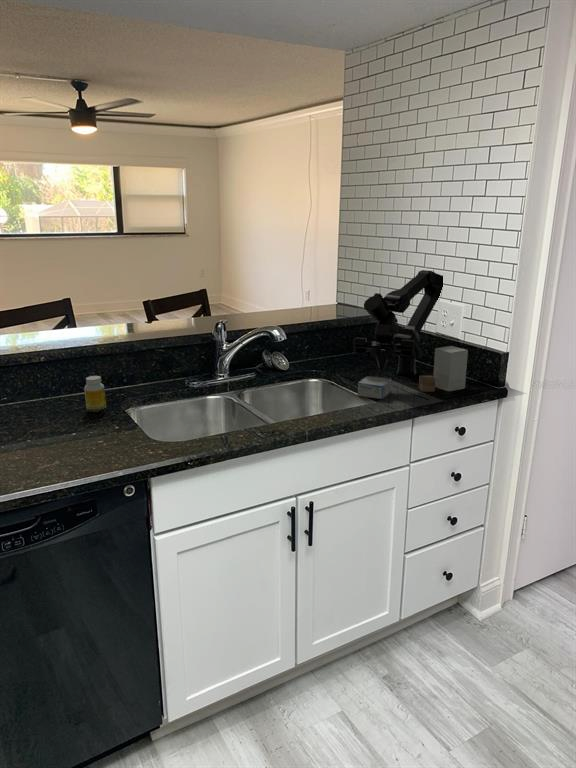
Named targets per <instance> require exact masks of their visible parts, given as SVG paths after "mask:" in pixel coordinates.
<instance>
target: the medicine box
mask: <svg viewBox="0 0 576 768" xmlns="http://www.w3.org/2000/svg"><path fill="white" fill-rule="evenodd" d="M391 388H392V378H387V377H379V376H370V375H367V376H365V377H364V378H362V379H361V380H360V381H358V383H357V396H358V397H365V398H372V399H379V400H383V399H384V398H385V397H387V396H388V395H389V394H390V393H391V390H392V389H391Z"/></svg>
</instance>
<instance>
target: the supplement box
mask: <svg viewBox="0 0 576 768" xmlns="http://www.w3.org/2000/svg"><path fill="white" fill-rule="evenodd" d="M468 353H469V350H468V349H467V348H466V349H465V348H462V347H461V348H460V347H457V346H454V345H449V346H442V347H436V348H434V363H433V375H432V376H433V377H434V378H435V388H437V389H441V390H442V391H443V390H444V391H446V392H452V391H453V392H454V391H458V390H463V389H465V388H466V382H467V381H466V380H467V379H466V378H467V367H468V366H467V365H468V357H469V356H468Z"/></svg>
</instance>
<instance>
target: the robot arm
mask: <svg viewBox="0 0 576 768" xmlns="http://www.w3.org/2000/svg"><path fill="white" fill-rule="evenodd" d="M443 276H444V275H442V274H439V273H436V272H435V271H433V270H426V269H425V270H424V269H423V270H419V271H418V273H417V274H416V275H415V276H414V277H412V279H410V280H409V281H408V282H407V283H405V285H403V286H402V287H401V288H399V289H396V290H392V291H389V292H388V293H386V295H385V296H384V297H383V295H382V294H381V293H377V292H375V293H373V296H370V297H367V299H366V300H365V301H364V303H363V308H364V310H365V311H366V312H367V313H368V315H369V316H370V317H371V319H373V320H375V321H377V323H376V324H375V330H374V338H373V339H374V341H371V342H368V341H367V337H355V338H354V339H353V342H352V346H353V353H354V354H357V355H365V354H366V353H367V351H368V350H371V352H370V353H371V357H373V358H374V357H375V359H376V362H377V365H378V368H379V371H380V372H383V371H384V369H385V368H386V366H387V364H388V363H389V362H390V361H391V359H392V358H393V359H394V358H395V357H396V356H398V363H397V364H398V365H397V366H398V367H397V369H396V376H412V377H413V376H414V377H415V376H416V375H417V370H416V359H421V358H422V356H423V349H422V348H421V345H420V342H421V341H420V340H421V339H420V333H421V331H422V329H423V327H424V325H425V323H426V321H428V318H429V316H430V315H431V312H432V311H433V309H434V307H435V306H436V304H437V302H438V301H439V300H438V298H439V296H440V293H441V290H442V287H443ZM422 290H423V293H424V294H423V296H422V297H421V300H420V301H419V303H418V305H417V307H416V308H415V310H414V312H413V313H412V315H411V317H410V319H409V321H408V322H407V325H406V326H405V327H400V326H399V321H398V318H397V317H396V314H395V313H399V314H402V313H405V312H406V311H407V309H408V308H409V307H410V306H411V300H412V299H413V298H414V297H416V296H417V295H418V294H419V293H420V292H421V291H422ZM437 300H438V301H437ZM382 350H383V351H384V352H383V358H382Z"/></svg>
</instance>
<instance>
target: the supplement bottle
mask: <svg viewBox="0 0 576 768" xmlns="http://www.w3.org/2000/svg"><path fill="white" fill-rule="evenodd" d="M85 383H86V384H85V386H84V388H83V389H84V399H85V406H86V408H87V409H86V411H87V410H101V409H104V408H106V409H107V400H106V392H105V391H106V390H105V389H106V388H105V385H104V384H103V383H102V377H101V376H100V375H90V376H87V377H85Z"/></svg>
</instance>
